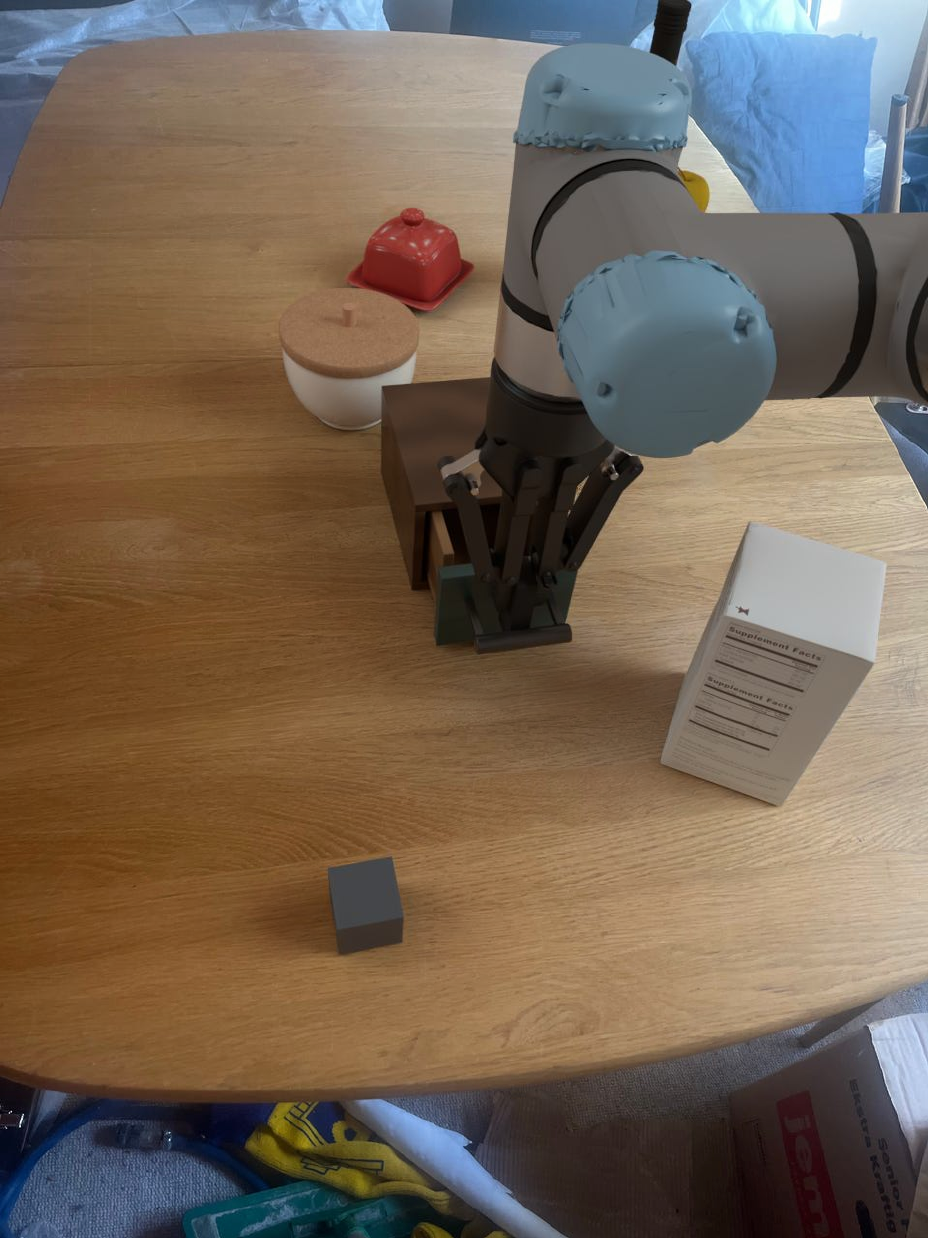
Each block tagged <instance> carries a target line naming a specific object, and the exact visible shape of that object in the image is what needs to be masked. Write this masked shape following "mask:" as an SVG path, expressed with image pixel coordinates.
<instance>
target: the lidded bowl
mask: <svg viewBox="0 0 928 1238" xmlns="http://www.w3.org/2000/svg"><path fill="white" fill-rule="evenodd" d="M417 319H418V318H417V317H416V316H415V314H414V313H413V312H412V310H411V309H410V308H409V307H408V306H407V305H406V304H403V303H401V302H400V301H398V300H396V299H394V298H392V297H390V296H388V295H385V294H383V293H380V292H376V291H372V290H366V289H360V288H357V287H336V288H328V289H327V288H326V289H323V290H318V291H315V292H312V293H309V294H306V295H304V296H302V297H300V298H298V299H297V300H295V301H294V302H292V303H291V304H290V305H289V306H288V307H287V308H286V309H285V310H284V312H283V313H282V314H281V317H280V319H279V322H278V338H279V343H280V345H281V353H282V360H283V365H284V370H285V374H286V377H287V379H288V383H289V385H290V388H291V390H292V391H293V393H294V395H295V397H296V399H297V400H298V401H299V402H300V403H301V405H302V406H304V408H305V409H306V410H307V411H309V412H310V413H311V414H312V415H314V416H315V417H317V418H318V419H319V420H320V421H321V422H322V423H323V424H325V425H327V426H330V427H331V428H334V429H336V430H337V429H338V430H343V431H359V430H360V431H361V430H365V429H369V428H371V427H374V426H376V425H378V424H380V423H381V394H382V393H381V387H382V386H386V385H398V384H410V383H413V380H414V375H415V371H416V367H417V366H416V365H417V355H418V346H419V341H420V324H419V321H418V320H417Z"/></svg>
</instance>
